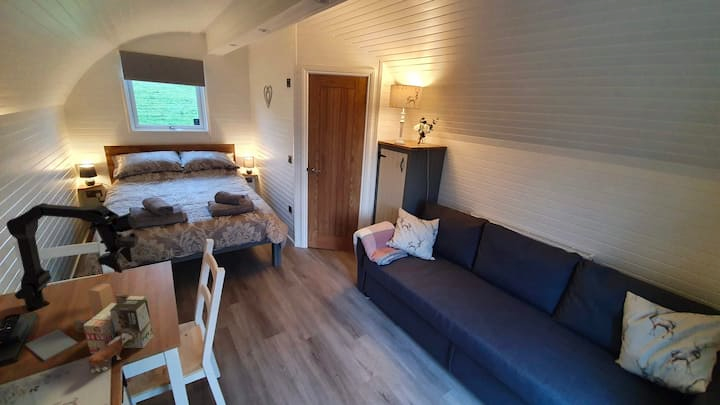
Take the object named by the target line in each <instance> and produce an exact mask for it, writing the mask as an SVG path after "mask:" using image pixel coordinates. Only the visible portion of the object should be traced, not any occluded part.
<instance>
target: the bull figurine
mask: <svg viewBox="0 0 720 405" xmlns="http://www.w3.org/2000/svg"><path fill="white" fill-rule="evenodd" d="M121 334H122V335H121V336H118V337H116V338H115V339H114V340H112V341H111V342H109V343H108V344H107V345H106V346H105V347H103V348H102V349H101V350H99V351H97V352H96V353H95V354H91V355H90V357H88V359H87V364H88V366H90V367H89V370H90V371H91V374H95V373H94V372H96V371H97V372H98V373H99V372H101V370H103V371H104V372H105V371H107V370H106V369H107V367H108V366H107V367H106V366H105V365H104V363H105V362H108V361H109V360H110V359H112V358H113V357H114V356H115V357H116V361H121V360H122V357H120V356H121V352H122V349H123V348H122V346H123V345H124V342H126V341H127V340H129V339H132V337H133V336H132V335H130V334H128V333H123V332H121ZM103 371H102V372H103ZM97 372H96V373H97Z"/></svg>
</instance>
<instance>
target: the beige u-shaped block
mask: <svg viewBox="0 0 720 405" xmlns="http://www.w3.org/2000/svg"><path fill="white" fill-rule="evenodd" d="M129 296H131V294H124V293H116V294H115V295H114V298H115V303H118V302H119V301H121V300H122V299H127V298H128V297H129ZM88 321H89V320H84V319H83V320H82V319H78V318H77V319H75V320H74V321H73V324H74V328H75V332H76V333H77V332H78V333H84V334H85V330H84V326H83V325H84V324H86V323H87V322H88Z"/></svg>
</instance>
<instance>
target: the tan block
mask: <svg viewBox="0 0 720 405" xmlns="http://www.w3.org/2000/svg"><path fill="white" fill-rule="evenodd" d="M113 293H114V292H113V289H112V285H111V283H103V282H98V283H96V284H95V285H93V286H91V287H88V288H87V295H88V298H89V299H88V300H89V302H90V303H89V304H90V308H91V311H92V315H93V317H95V316H96V315H97V314H99V313H100V312H101V311H102V310H103V309H105V308H106V307H107V306H108V305H110V304H111V303H115V299H114V298H115V297H114V294H113ZM93 317H92V318H93Z"/></svg>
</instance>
